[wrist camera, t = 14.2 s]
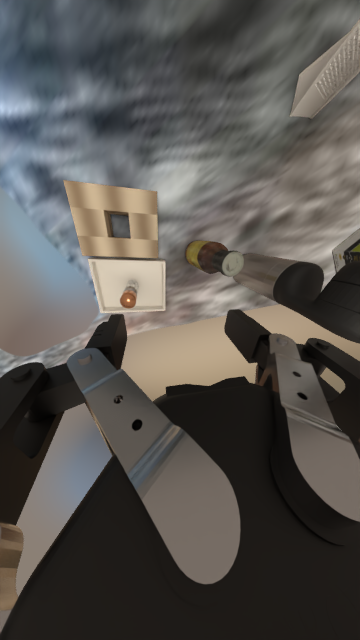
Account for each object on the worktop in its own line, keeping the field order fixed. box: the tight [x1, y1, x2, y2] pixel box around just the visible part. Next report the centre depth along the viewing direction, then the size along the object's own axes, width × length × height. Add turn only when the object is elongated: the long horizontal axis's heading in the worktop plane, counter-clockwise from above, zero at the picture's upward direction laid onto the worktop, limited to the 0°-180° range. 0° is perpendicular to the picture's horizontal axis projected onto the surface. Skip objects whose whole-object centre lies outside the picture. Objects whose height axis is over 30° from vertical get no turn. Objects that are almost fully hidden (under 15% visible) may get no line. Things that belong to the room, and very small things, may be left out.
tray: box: [88, 257, 165, 313], centre depth 40 cm, size 18×14×4 cm
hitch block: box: [63, 180, 158, 258], centre depth 32 cm, size 16×12×6 cm
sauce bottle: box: [186, 241, 244, 276], centre depth 32 cm, size 7×6×20 cm
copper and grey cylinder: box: [120, 280, 139, 309], centre depth 36 cm, size 3×3×12 cm
